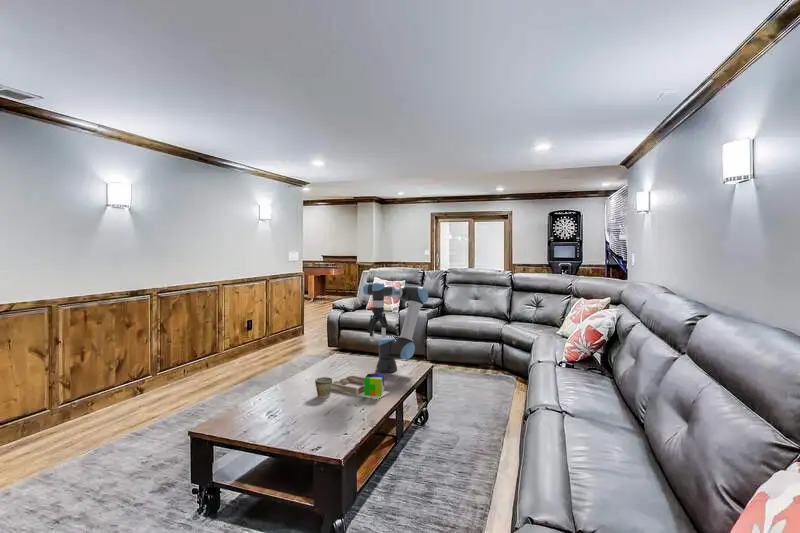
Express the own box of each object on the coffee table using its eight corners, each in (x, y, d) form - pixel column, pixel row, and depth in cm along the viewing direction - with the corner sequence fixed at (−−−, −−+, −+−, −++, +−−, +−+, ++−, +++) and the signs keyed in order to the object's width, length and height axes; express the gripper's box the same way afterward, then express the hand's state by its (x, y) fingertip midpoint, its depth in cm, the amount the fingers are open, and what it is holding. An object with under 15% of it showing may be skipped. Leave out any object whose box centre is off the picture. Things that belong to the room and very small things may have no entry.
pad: (371, 389, 267) (371, 388, 267) (389, 393, 261) (389, 391, 261) (359, 395, 256) (359, 394, 256) (377, 399, 249) (377, 398, 249)
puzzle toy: (384, 390, 263) (384, 374, 262) (380, 396, 253) (381, 379, 252) (367, 389, 264) (368, 373, 264) (364, 395, 254) (364, 378, 254)
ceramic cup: (328, 399, 249) (328, 382, 248) (312, 398, 251) (312, 381, 250) (336, 392, 261) (336, 376, 261) (320, 391, 263) (320, 375, 263)
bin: (350, 381, 285) (350, 375, 285) (377, 386, 275) (377, 380, 275) (330, 389, 267) (330, 383, 267) (357, 395, 257) (357, 388, 256)
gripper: (383, 304, 292) (383, 335, 293) (362, 308, 271) (361, 341, 271) (393, 305, 288) (392, 336, 289) (372, 309, 267) (371, 343, 268)
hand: (377, 339), depth 280 cm, fingers open, 13 cm apart
